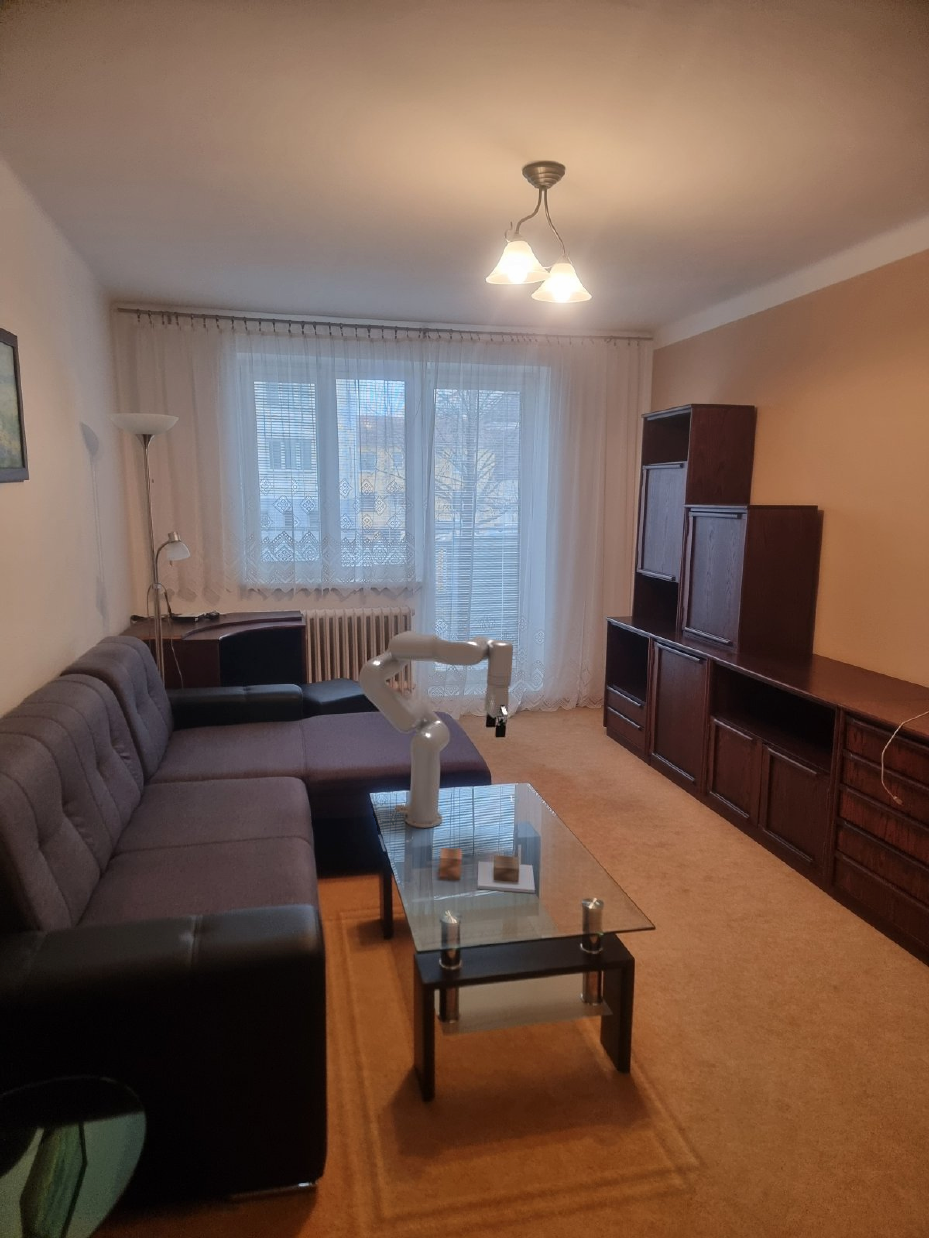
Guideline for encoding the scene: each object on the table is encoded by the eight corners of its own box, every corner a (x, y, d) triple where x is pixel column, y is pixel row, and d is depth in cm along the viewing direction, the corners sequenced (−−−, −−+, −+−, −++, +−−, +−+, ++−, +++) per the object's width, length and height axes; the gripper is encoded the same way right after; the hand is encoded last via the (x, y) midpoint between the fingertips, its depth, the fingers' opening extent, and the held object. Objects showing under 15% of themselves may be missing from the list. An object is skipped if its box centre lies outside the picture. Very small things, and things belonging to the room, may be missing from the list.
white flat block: (477, 888, 213) (478, 872, 212) (478, 864, 227) (479, 848, 226) (534, 892, 212) (535, 876, 211) (532, 868, 226) (533, 852, 225)
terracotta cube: (439, 877, 218) (440, 857, 217) (440, 866, 224) (441, 847, 223) (460, 878, 218) (461, 859, 217) (461, 868, 224) (462, 849, 223)
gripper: (479, 673, 246) (476, 723, 249) (496, 687, 230) (492, 741, 233) (501, 672, 249) (497, 723, 251) (519, 687, 232) (515, 740, 235)
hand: (495, 732), depth 242 cm, fingers open, 9 cm apart
